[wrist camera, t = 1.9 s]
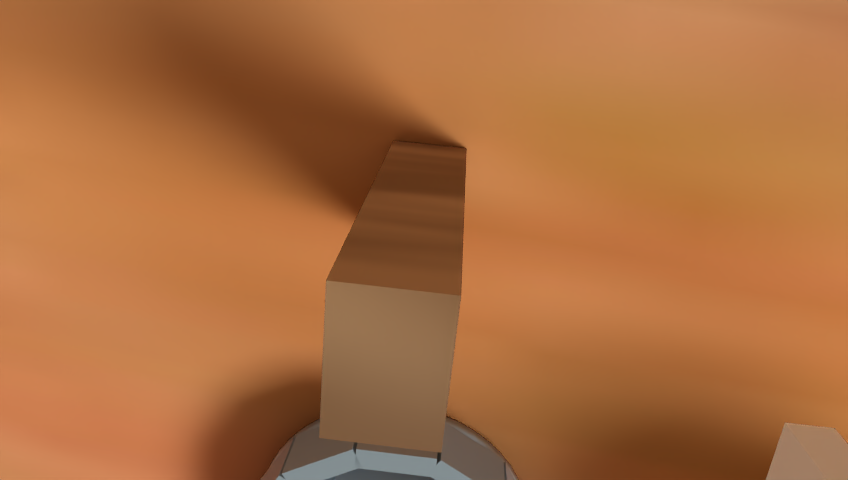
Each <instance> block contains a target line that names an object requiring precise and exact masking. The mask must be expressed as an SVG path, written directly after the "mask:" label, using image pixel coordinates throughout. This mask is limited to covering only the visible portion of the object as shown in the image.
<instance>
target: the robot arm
mask: <svg viewBox="0 0 848 480" xmlns="http://www.w3.org/2000/svg"><path fill="white" fill-rule="evenodd" d="M766 480H848V444H847V443H846V441H845V440H844V439H843V438H842V437H841V435H840V434H839V433H838V432H837V431H836V429H835V428H828V427H819V426H811V425H802V424H793V423H785V424H784V427H783V430H782V433H781V436H780V439H779V442H778V445H777V448H776V451H775V454H774V457H773V460H772V463H771V466H770V468H769V471H768V474H767V477H766Z"/></svg>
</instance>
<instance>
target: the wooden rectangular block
mask: <svg viewBox="0 0 848 480" xmlns="http://www.w3.org/2000/svg"><path fill="white" fill-rule="evenodd" d="M465 175H466V148H459V147H450V146H441V145H431V144H422V143H413V142H403V141H394V140H393V142H392V145H391V147H390V149H389V151H388V153H387V155H386V157H385V159H384V161H383V163H382V165H381V167H380V169H379V172H378V174H377V176H376V178H375V180H374V182H373V184H372V186H371V188H370V190H369V192H368V194H367V196H366V199H365V201H364V203H363V205H362V207H361V209H360V211H359V213H358V215H357V217H356V219H355V221H354V223H353V226H352V228H351V230H350V232H349V234H348V236H347V238H346V240H345V242H344V244H343V246H342V248H341V250H340V253H339V255H338V257H337V259H336V261H335V263H334V265H333V267H332V269H331V271H330V273H329V275H328V278H327V280H326V294H325V316H324V339H323V362H322V384H321V407H320V429H319V438H323V439H332V440H340V441H348V442H357V443H365V444H373V445H382V446H390V447H398V448H407V449H415V450H423V451H432V452H440V453H441V452H442V444H443V436H444V428H445V420H446V412H447V404H448V396H449V388H450V380H451V372H452V364H453V357H454V349H455V341H456V333H457V325H458V317H459V309H460V301H461V286H462V258H463V231H464V203H465Z"/></svg>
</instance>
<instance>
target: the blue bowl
mask: <svg viewBox="0 0 848 480" xmlns="http://www.w3.org/2000/svg"><path fill="white" fill-rule="evenodd" d="M319 429H320V419H318V420H316V421H314V422H313V423H311V424H309V425H308V426H306V427H304V428H303V429H301V430H300V431H299V432H298V433H296V434H295V435H294V436H293V437H291V438H290V439H289V440H288V441H287V442H286V444H285V445H284V446H283V447H282V448H281V449H280V450H279V452H278V453H277V455H276V456H275V458H274V459H273V461H272V462H271V465H270V467H269V469H268V470H267V471H266V473H265V474H264V475H263V476H262V478H261V479H260V480H519V479H518V477H517V475H516V474H515V472H514V470H513V469H512V467H511V465H510V464H509V463H508V462H507V460H506V459H505V458H504V457H503V455H502V454H501V453H500V452H499V451H498V450H497V449H496V448H495V447H494V446H493V445H492V444H491V443H490V442H489V441H487V440H486V439H485V438H483V437H482V436H481V435H479V434H478V433H476V432H475V431H474V430H472V429H470V428H468V427H467V426H465V425H463V424H461V423H459V422H458V421H455V420H453V419H450V418H448V417H446V420H445V428H444V436H443V444H442V452H441V453H440V452H432V451H423V450H415V449H407V448H398V447H390V446H382V445H373V444H365V443H357V442H348V441H340V440H332V439H323V438H319Z"/></svg>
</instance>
